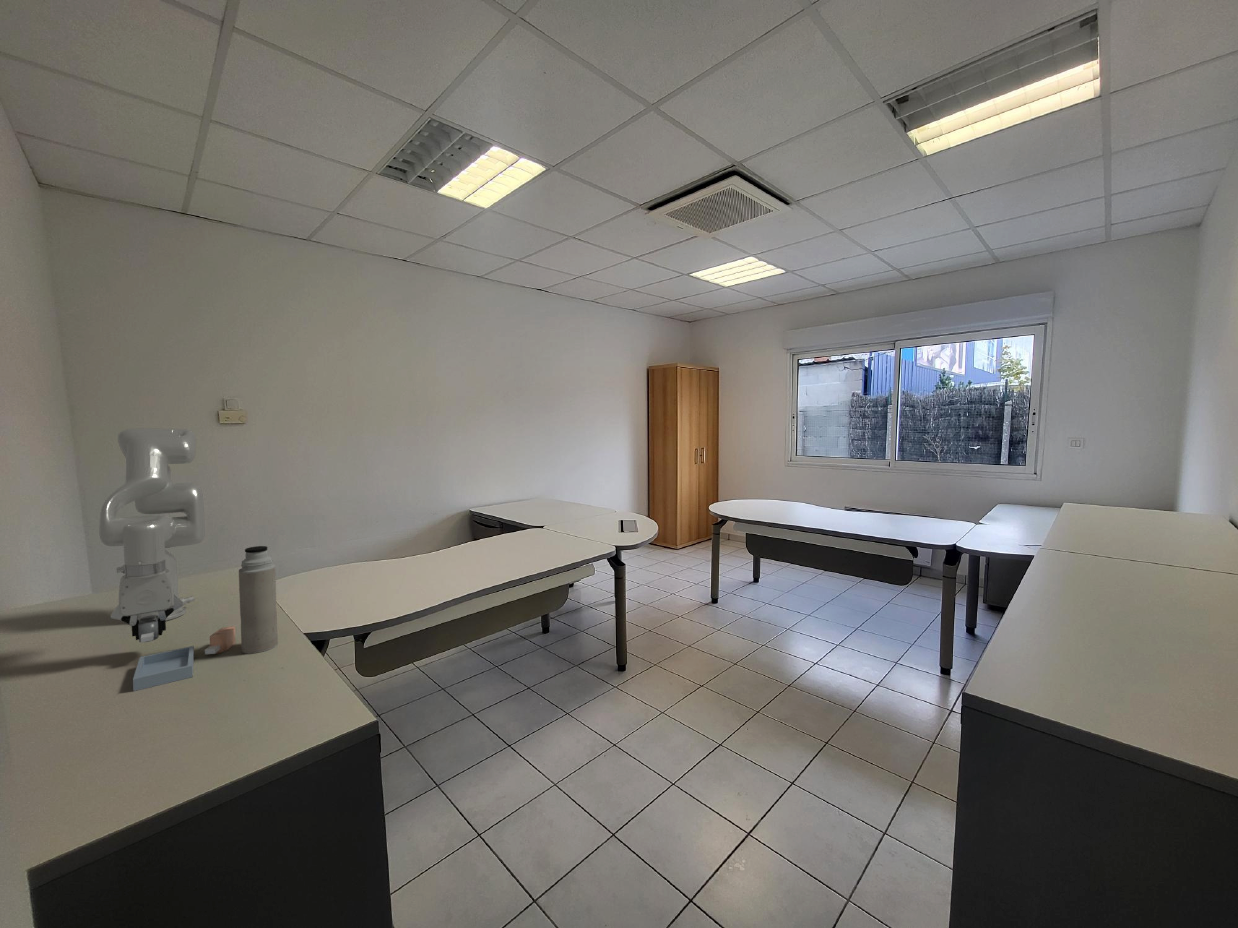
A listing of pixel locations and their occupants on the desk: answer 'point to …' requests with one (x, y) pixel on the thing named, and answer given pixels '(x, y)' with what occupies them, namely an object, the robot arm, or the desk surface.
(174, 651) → the tray
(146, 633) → the graphite plug
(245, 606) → the thermos bottle
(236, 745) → the desk surface
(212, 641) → the terracotta plug
